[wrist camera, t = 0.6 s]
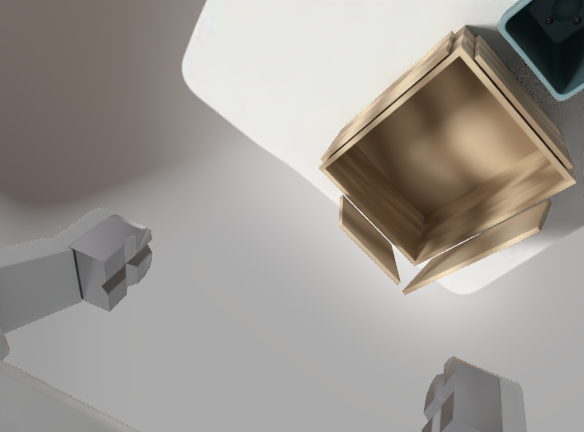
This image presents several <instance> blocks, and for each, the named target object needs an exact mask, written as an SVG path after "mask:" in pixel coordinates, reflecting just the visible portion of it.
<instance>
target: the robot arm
mask: <svg viewBox="0 0 584 432" xmlns="http://www.w3.org/2000/svg"><path fill="white" fill-rule="evenodd" d="M151 240H152V236H151V230H150V229H148V228H146V227H144V226H142V225H140V224H137V223H135V222H133V221H131V220H129V219H126V218H124V217H122V216H120V215H118V214H115V213H113V212H110V211H108V210H106V209H104V208H97V209H94V210H92V211H91V212H89V213H88V214H87V215H85V216H84V217H82V218H81V219H79V220H78V221H76V222H75V223H74V224H72V225H71V226H69V227H68V228H66V229H65V230H64V231H62V232H61V233H59V234H58V235H56V236H55V237H54V238H52V239H51V240H50V239H48V238H41V239H37V240H32V241H28V242H23V243H19V244H14V245H10V246H5V247H0V432H139V431H137V430H135V429H134V428H132V427H130V426H128V425H126V424H124V423H122V422H120V421H118V420H116V419H115V418H113V417H111V416H109V415H107V414H105V413H103V412H101V411H99V410H97V409H95V408H93V407H92V406H90V405H88V404H86V403H84V402H82V401H80V400H78V399H76V398H74V397H72V396H70V395H68V394H67V393H65V392H63V391H61V390H59V389H57V388H55V387H53V386H51V385H49V384H47V383H45V382H44V381H42V380H40V379H38V378H36V377H34V376H32V375H30V374H28V373H26V372H24V371H22V370H21V369H18V368H17V367H15V366H13V365H11V364H9V363H7V362H5V361H3V359H4V358H5V357H6V356H7V355H8V354H9V349H10V348H9V346H8V343H7V340H6V338H5V335H4V334H5V333H7V332H9V331H12V330H14V329H17V328H19V327H21V326H24V325H26V324H29V323H31V322H33V321H36V320H38V319H41V318H43V317H45V316H48V315H50V314H53V313H55V312H57V311H60V310H62V309H64V308H67V307H69V306H72V305H74V304H77V303H79V302H81V301H82V300H84V301H86V302H89V303H91V304H93V305H96V306H98V307H100V308H102V309H105V310H107V311H111V310H112V309H113V308H114V307H115V306H116V305H117V304H118V303H119V302H120V301H121V300H122V299H123V298H124V297H125V296H126V294H127V287H128V286H131V285H134V284H137V283H139V282H140V280H141V279H142V278H143V277H144V276H145V275H146V273H147V271H148V269H149V268H150V265H151V261H152V251H151V250H150V248H149V246H148V245H147V244H148V243H149V242H150V241H151ZM81 299H82V300H81ZM424 413H425V415H426V417H427V420H428V423H427V424H426V425H425V427H424V428H423V429H422V432H527V429H526V420H525V411H524V402H523V393H522V388H521V386H520V384H519V383H516V382H514V381H512V380H509V379H507V378H504V377H502V376H500V375H497V374H495V373H493V372H490V371H488V370H485V369H483V368H480V367H478V366H476V365H473V364H471V363H468V362H466V361H463V360H461V359H459V358H456V357H454V356H453V357H451V358H449V360H448V361H447V362H446V363H445V365H444V373H443V374H439V375H436V377H435V378H434V380H433V381H432V383H431V385H430V388H429V390H428V393H427V396H426V401H425V408H424Z"/></svg>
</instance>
